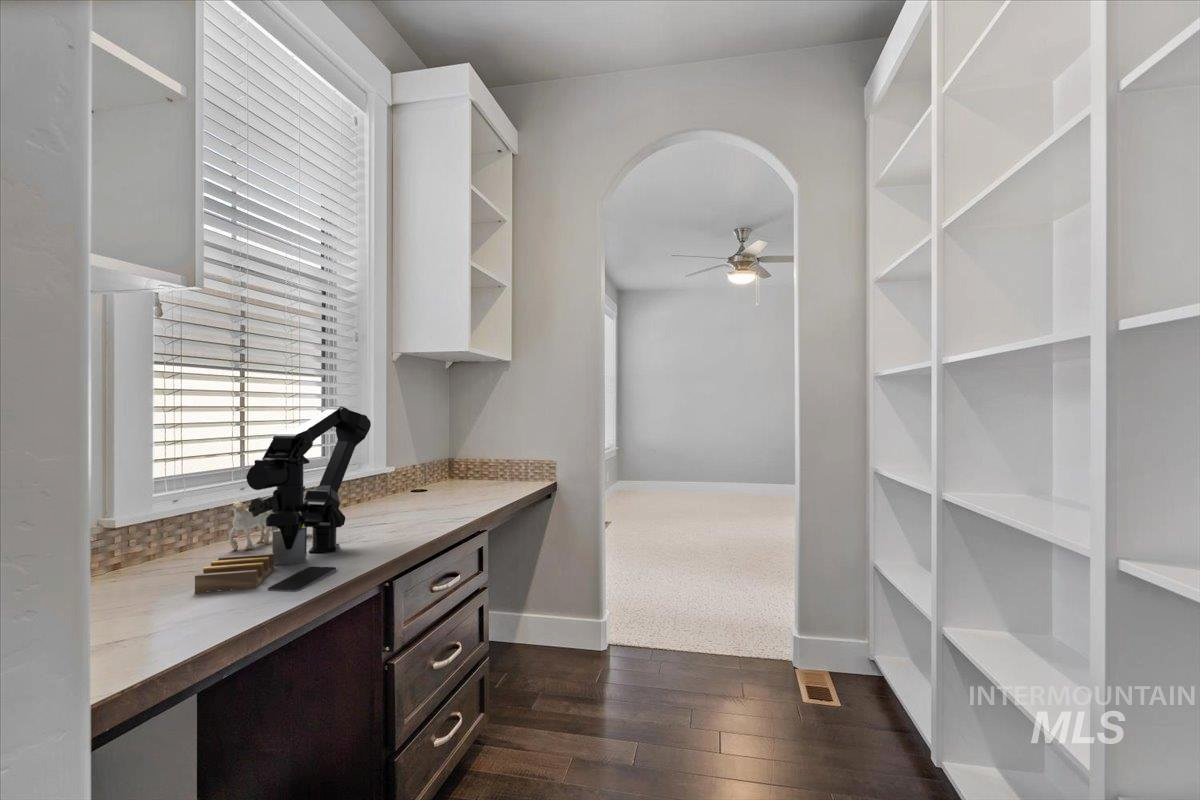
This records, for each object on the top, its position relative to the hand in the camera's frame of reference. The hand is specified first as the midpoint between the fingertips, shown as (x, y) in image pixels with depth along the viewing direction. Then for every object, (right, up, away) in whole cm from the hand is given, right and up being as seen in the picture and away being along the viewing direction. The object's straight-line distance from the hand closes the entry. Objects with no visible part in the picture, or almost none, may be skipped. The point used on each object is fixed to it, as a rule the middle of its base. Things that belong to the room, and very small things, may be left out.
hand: (289, 548), depth 138 cm
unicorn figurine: (-16, -4, +14) cm, 21 cm away
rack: (-4, -3, -13) cm, 14 cm away
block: (0, -4, 0) cm, 4 cm away
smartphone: (+10, -4, -13) cm, 17 cm away
